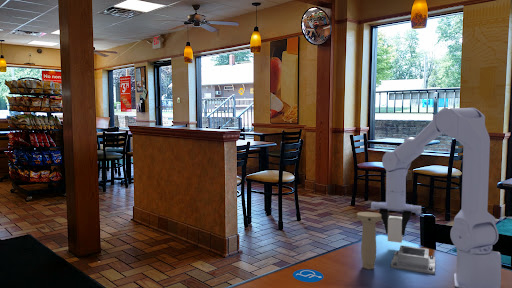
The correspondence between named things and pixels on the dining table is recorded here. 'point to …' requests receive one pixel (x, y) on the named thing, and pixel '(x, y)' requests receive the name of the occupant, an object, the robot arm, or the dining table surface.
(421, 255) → the bracket
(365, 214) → the handle
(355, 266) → the dining table surface
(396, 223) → the block
